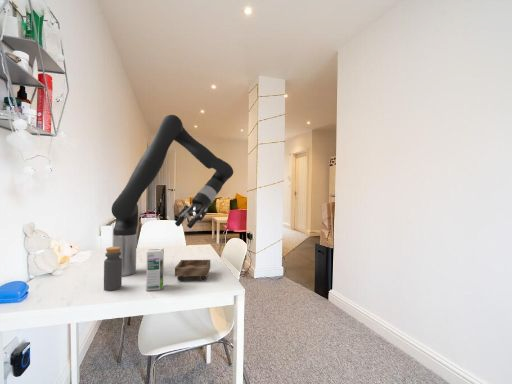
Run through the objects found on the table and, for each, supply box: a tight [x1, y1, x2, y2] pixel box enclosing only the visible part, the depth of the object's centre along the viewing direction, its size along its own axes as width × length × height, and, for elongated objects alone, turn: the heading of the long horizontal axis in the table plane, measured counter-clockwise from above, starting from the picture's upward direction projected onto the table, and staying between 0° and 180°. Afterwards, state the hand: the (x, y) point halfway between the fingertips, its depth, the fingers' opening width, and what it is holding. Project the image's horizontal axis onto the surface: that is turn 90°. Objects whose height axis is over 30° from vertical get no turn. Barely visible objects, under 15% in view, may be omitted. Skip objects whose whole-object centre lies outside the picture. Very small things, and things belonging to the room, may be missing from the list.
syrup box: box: [145, 247, 165, 292], centre depth 97 cm, size 6×6×14 cm
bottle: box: [103, 246, 123, 292], centre depth 97 cm, size 6×6×15 cm
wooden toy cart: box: [174, 259, 211, 282], centre depth 110 cm, size 13×13×6 cm
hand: (182, 226), depth 106 cm, fingers open, 8 cm apart
